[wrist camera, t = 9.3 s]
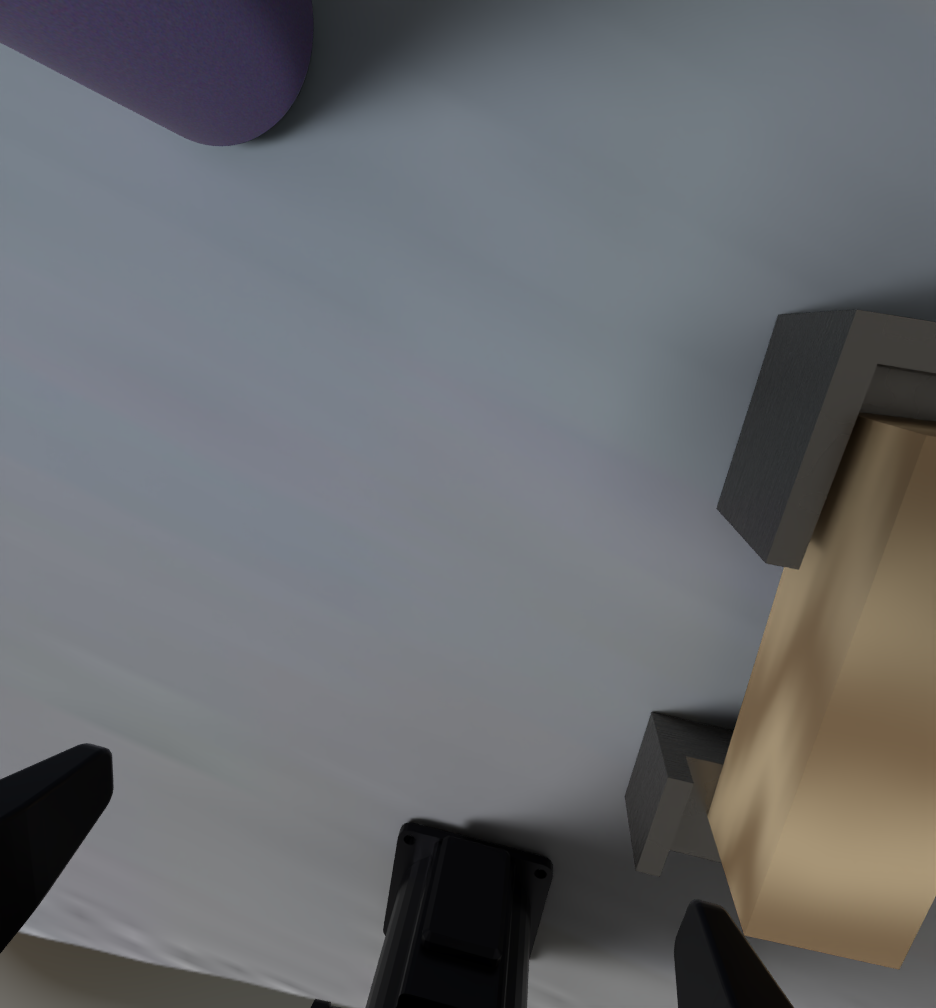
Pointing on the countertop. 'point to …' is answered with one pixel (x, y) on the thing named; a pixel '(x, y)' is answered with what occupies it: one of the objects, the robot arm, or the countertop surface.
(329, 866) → the countertop surface
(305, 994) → the countertop surface
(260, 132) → the beverage can
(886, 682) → the rail
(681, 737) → the dark grey arch block
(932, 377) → the bracket
